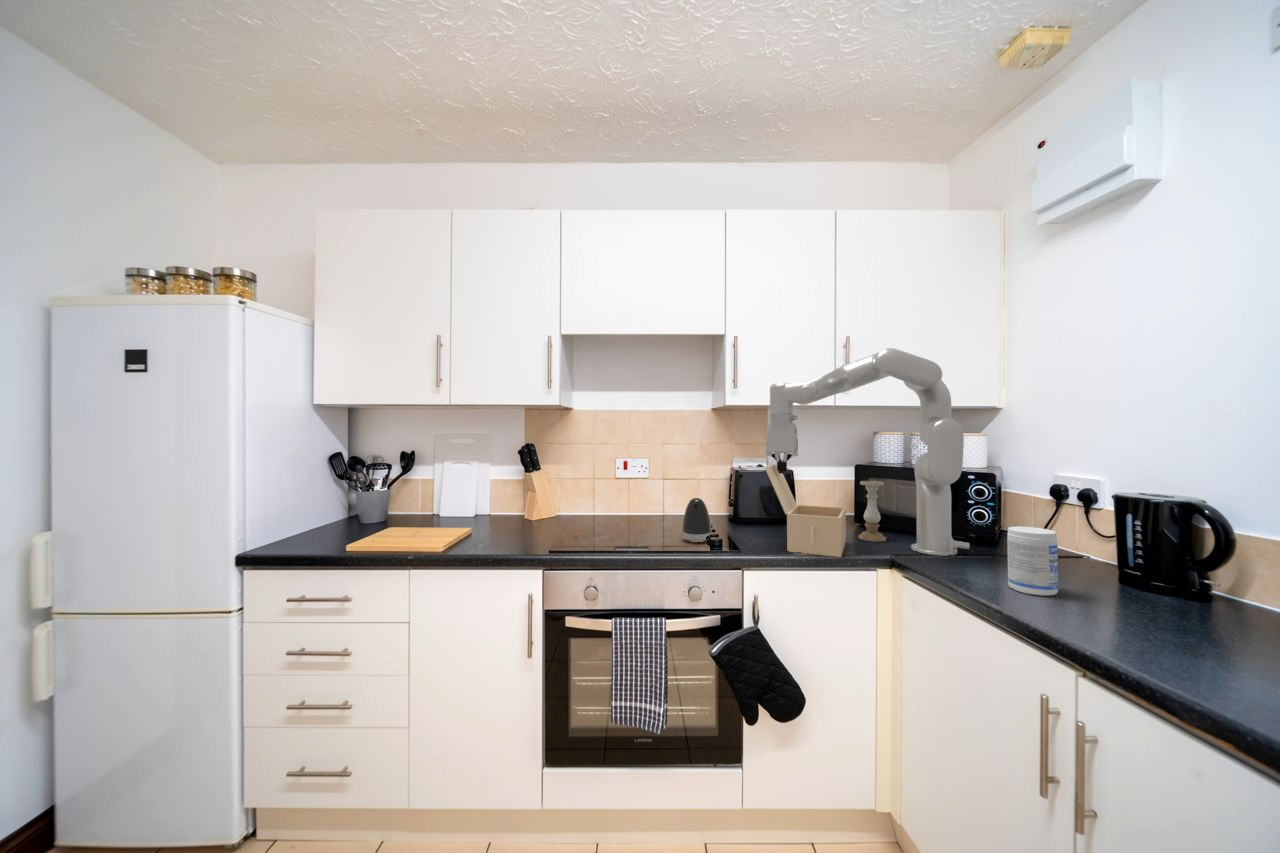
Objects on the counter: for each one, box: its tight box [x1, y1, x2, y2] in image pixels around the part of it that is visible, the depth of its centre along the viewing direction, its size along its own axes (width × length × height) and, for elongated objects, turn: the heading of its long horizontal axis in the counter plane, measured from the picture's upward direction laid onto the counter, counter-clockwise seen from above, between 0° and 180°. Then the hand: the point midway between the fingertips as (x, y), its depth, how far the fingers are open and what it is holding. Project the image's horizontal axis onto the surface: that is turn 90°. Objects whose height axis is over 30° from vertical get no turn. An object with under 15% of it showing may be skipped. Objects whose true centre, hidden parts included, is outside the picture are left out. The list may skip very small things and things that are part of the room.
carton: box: [786, 504, 847, 558], centre depth 161 cm, size 16×24×12 cm, turn 154°
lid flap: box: [764, 463, 798, 515], centre depth 168 cm, size 16×20×1 cm
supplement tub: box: [1006, 526, 1059, 597], centre depth 119 cm, size 10×10×15 cm
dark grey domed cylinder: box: [681, 497, 712, 542], centre depth 172 cm, size 10×10×15 cm
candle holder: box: [858, 480, 887, 543], centre depth 174 cm, size 9×9×20 cm
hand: (782, 473), depth 168 cm, fingers closed
